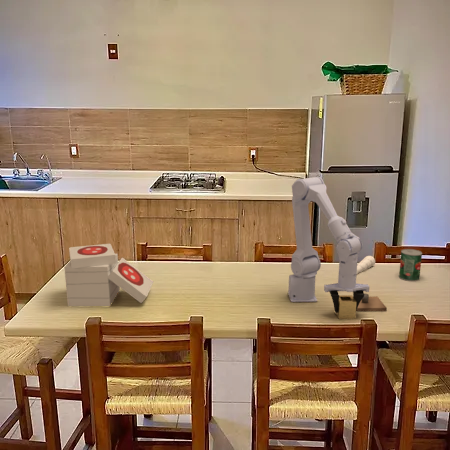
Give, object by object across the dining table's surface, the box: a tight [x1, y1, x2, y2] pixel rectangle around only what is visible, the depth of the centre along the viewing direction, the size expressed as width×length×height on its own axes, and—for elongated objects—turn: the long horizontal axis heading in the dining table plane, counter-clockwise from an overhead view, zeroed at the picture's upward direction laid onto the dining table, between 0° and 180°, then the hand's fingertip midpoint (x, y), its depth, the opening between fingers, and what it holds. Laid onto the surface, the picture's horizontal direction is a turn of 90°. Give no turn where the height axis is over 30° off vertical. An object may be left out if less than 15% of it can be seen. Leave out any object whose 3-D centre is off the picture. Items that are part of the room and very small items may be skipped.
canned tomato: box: [398, 248, 423, 282], centre depth 196 cm, size 8×8×11 cm
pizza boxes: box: [64, 243, 154, 307], centre depth 175 cm, size 19×30×18 cm, turn 89°
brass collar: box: [334, 294, 357, 320], centre depth 162 cm, size 6×6×6 cm
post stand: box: [356, 293, 388, 312], centre depth 170 cm, size 12×10×4 cm
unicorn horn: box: [357, 255, 376, 275], centre depth 204 cm, size 5×24×5 cm, turn 135°
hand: (345, 311), depth 162 cm, fingers closed on brass collar, 5 cm apart
